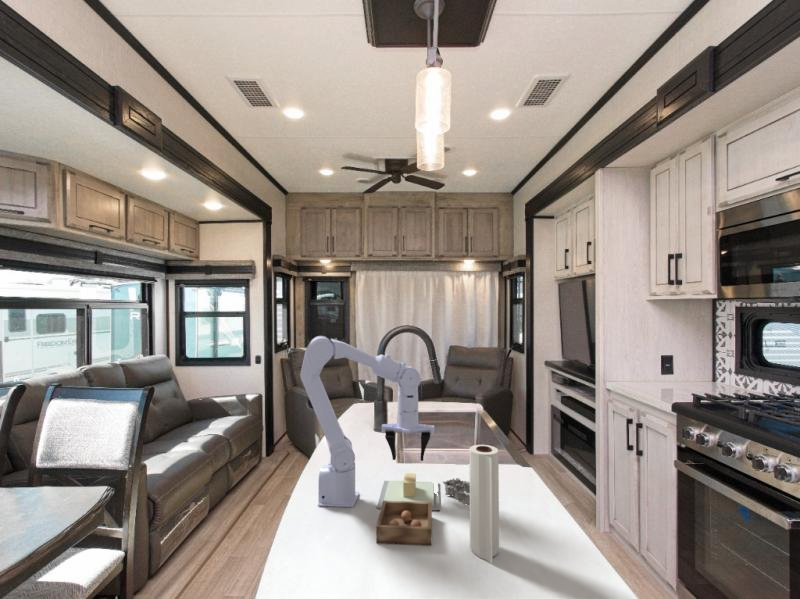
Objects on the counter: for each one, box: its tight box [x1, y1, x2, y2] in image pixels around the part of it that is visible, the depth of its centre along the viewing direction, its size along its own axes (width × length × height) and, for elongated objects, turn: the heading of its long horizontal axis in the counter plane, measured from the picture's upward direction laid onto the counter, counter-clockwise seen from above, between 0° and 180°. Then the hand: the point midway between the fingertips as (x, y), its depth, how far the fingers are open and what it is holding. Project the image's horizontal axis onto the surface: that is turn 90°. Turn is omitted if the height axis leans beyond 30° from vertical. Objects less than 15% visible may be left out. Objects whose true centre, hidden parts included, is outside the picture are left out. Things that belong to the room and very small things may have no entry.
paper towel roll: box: [469, 444, 500, 564], centre depth 86 cm, size 7×6×21 cm
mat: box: [376, 480, 441, 510], centre depth 111 cm, size 16×16×1 cm
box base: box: [375, 501, 433, 547], centre depth 94 cm, size 12×12×4 cm
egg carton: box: [442, 477, 470, 506], centre depth 111 cm, size 11×8×4 cm
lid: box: [384, 472, 434, 508], centre depth 111 cm, size 13×13×5 cm
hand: (408, 459), depth 113 cm, fingers open, 7 cm apart
